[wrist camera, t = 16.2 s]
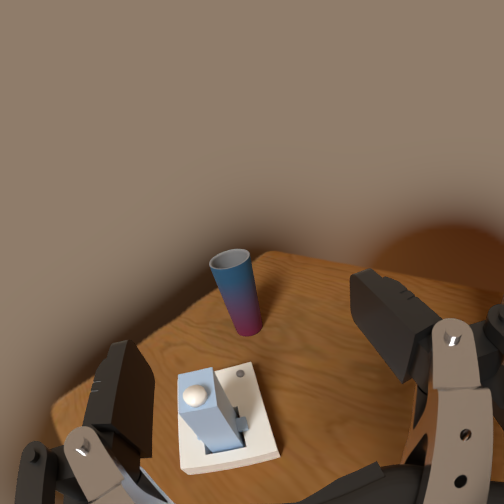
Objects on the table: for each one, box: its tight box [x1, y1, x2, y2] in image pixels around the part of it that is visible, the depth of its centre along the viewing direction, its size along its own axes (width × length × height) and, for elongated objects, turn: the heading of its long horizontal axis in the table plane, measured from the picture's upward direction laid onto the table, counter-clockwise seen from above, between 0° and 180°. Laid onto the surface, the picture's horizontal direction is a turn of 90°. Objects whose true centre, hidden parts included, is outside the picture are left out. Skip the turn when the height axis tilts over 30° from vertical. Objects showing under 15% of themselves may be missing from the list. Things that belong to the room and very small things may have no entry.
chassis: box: [178, 362, 280, 475], centre depth 32 cm, size 16×12×3 cm
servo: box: [178, 367, 249, 454], centre depth 28 cm, size 6×7×13 cm
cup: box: [209, 249, 262, 336], centre depth 48 cm, size 7×7×15 cm
